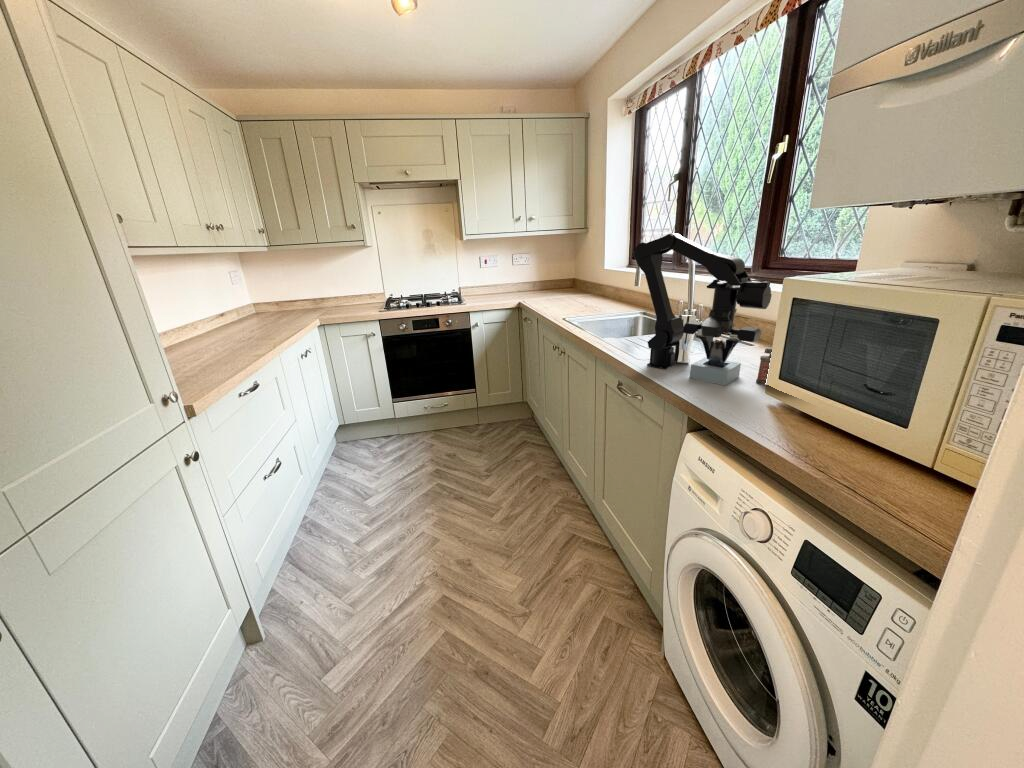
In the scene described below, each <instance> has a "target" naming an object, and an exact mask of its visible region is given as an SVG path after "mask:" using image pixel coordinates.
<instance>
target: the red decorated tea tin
mask: <svg viewBox="0 0 1024 768" xmlns="http://www.w3.org/2000/svg"><path fill="white" fill-rule="evenodd" d="M772 349H773V348H769V347H767V348H765V349H764V354H767V355H760V358H759V360H760V361H759V366H758V367H759V368H758V372H757V373H758V374H757V378H756V381H755V383H756V384H757V385H762V386H766V385H765V383H766V379H767V374H768V369H769V363H770V358H771V352H772ZM768 354H769V355H768Z"/></svg>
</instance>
